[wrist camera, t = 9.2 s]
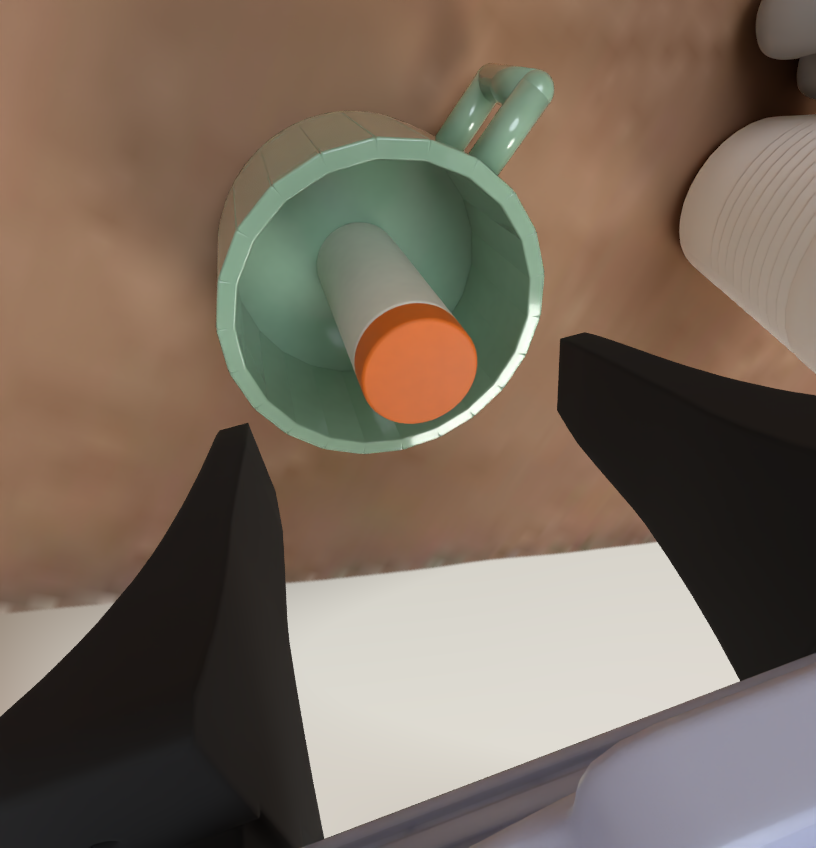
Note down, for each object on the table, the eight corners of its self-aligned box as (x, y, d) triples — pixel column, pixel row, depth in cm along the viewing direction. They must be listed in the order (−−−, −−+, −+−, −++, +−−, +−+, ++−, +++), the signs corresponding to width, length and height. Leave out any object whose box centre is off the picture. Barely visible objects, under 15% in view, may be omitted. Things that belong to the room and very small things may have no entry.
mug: (384, 406, 24) (419, 488, 20) (167, 301, 19) (151, 380, 15) (574, 157, 20) (670, 193, 16) (362, -62, 15) (418, -96, 11)
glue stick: (326, 312, 20) (372, 438, 14) (307, 232, 19) (350, 336, 12) (403, 293, 21) (481, 408, 15) (392, 213, 19) (475, 305, 13)
